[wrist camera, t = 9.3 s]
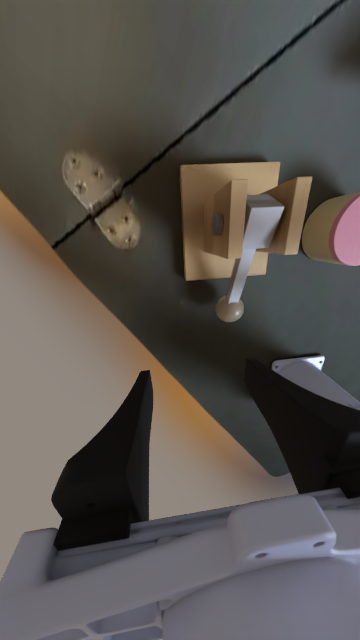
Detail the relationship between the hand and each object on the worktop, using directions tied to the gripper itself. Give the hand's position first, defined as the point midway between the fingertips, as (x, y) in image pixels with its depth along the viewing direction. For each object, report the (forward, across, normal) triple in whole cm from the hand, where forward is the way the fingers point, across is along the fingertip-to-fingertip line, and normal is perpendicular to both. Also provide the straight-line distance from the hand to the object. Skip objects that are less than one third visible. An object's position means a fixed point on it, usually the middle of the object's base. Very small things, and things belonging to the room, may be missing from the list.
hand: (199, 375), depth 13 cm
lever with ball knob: (+7, -5, -7) cm, 11 cm away
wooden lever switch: (+10, -5, -10) cm, 15 cm away
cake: (+10, -17, -9) cm, 22 cm away
